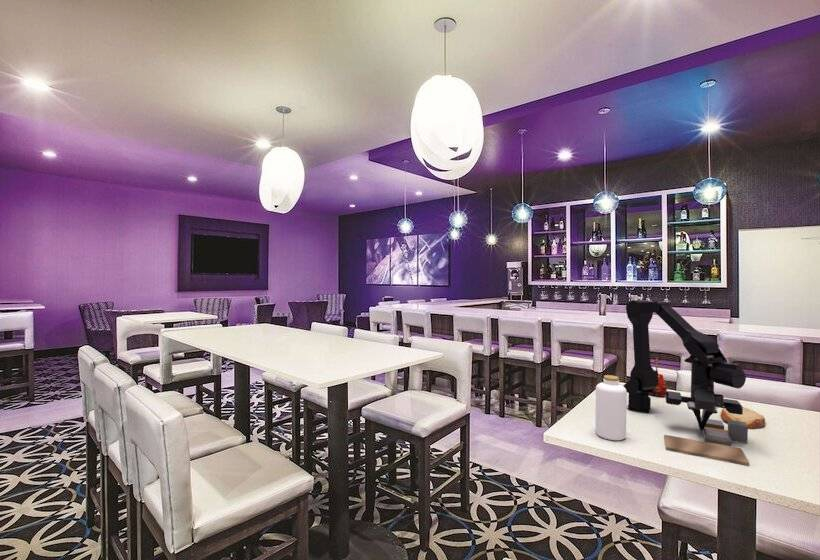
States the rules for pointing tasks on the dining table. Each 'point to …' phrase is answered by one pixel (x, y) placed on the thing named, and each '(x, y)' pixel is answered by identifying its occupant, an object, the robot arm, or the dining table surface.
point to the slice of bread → (745, 418)
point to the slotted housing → (716, 433)
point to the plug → (735, 431)
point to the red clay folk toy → (659, 385)
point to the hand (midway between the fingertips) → (701, 429)
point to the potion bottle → (611, 409)
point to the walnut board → (706, 449)
